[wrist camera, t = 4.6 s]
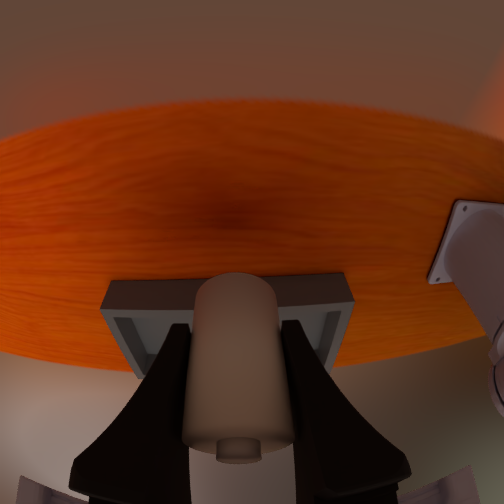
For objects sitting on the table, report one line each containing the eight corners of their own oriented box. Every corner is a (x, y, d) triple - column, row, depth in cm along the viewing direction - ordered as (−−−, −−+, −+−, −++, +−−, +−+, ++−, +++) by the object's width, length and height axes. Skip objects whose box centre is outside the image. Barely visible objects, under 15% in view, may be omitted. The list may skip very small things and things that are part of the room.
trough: (343, 272, 22) (354, 301, 19) (323, 348, 27) (329, 374, 25) (111, 280, 21) (99, 309, 19) (143, 353, 27) (138, 378, 24)
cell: (278, 270, 12) (304, 440, 7) (274, 327, 14) (291, 466, 9) (189, 273, 12) (167, 443, 6) (200, 329, 14) (192, 468, 9)
